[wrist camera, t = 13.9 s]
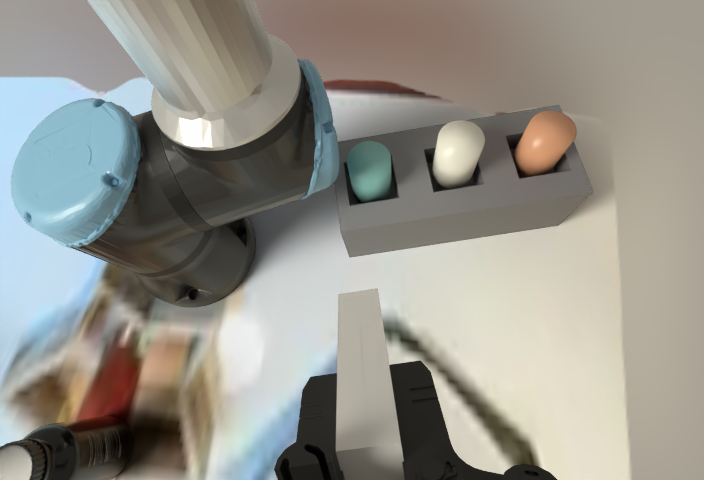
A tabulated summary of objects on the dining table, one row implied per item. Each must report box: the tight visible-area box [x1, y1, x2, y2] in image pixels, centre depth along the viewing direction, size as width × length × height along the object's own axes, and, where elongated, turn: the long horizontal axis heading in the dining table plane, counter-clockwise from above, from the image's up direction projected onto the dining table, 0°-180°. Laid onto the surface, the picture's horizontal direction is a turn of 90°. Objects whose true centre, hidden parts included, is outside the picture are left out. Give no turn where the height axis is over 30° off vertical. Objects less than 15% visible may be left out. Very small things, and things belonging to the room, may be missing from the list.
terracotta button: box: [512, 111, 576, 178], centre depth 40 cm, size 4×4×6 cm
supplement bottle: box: [0, 416, 132, 480], centre depth 38 cm, size 7×7×12 cm
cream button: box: [432, 120, 485, 189], centre depth 40 cm, size 4×4×6 cm
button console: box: [334, 105, 593, 257], centre depth 46 cm, size 26×11×9 cm, turn 98°
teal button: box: [347, 141, 391, 204], centre depth 41 cm, size 4×4×6 cm
